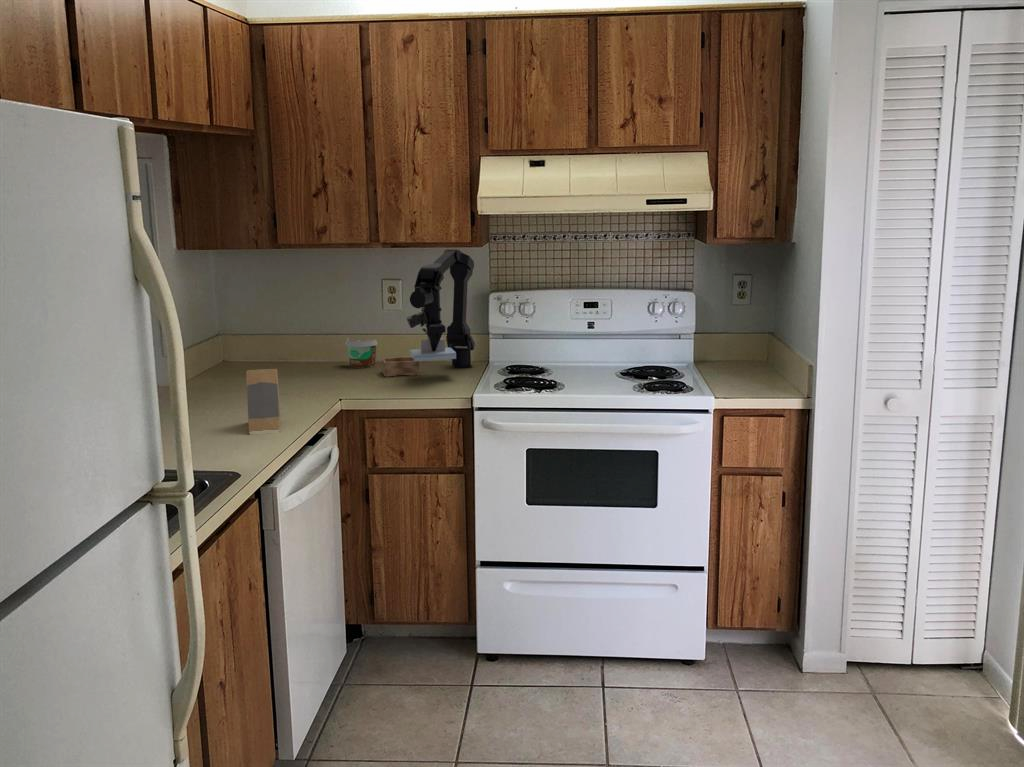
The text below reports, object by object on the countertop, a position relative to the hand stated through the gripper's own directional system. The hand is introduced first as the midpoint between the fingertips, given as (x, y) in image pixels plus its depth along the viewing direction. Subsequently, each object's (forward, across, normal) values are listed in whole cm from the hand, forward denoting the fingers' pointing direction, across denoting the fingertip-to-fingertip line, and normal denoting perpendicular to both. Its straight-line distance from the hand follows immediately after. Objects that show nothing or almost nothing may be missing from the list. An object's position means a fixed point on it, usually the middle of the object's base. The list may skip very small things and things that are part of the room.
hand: (433, 350), depth 314 cm
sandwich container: (+10, +52, -55) cm, 76 cm away
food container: (+10, -29, -23) cm, 38 cm away
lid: (+2, 0, 0) cm, 2 cm away
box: (+10, -12, -10) cm, 18 cm away
